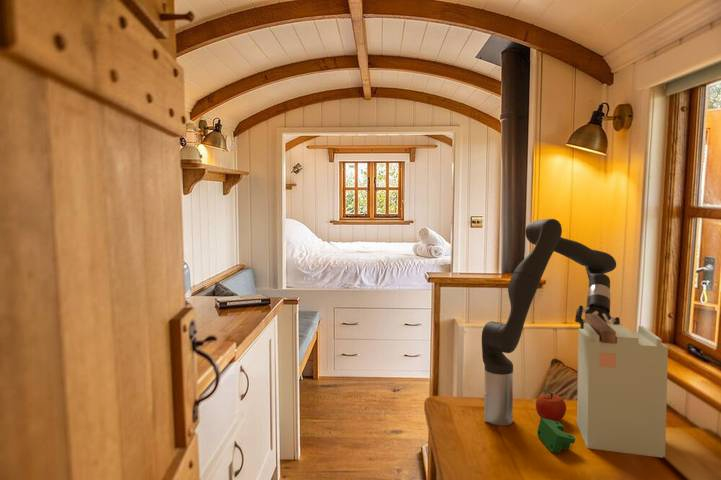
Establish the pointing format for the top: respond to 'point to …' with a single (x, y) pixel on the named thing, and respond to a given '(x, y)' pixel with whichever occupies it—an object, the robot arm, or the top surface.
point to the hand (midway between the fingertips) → (596, 338)
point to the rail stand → (622, 391)
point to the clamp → (554, 435)
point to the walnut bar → (601, 328)
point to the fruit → (550, 406)
